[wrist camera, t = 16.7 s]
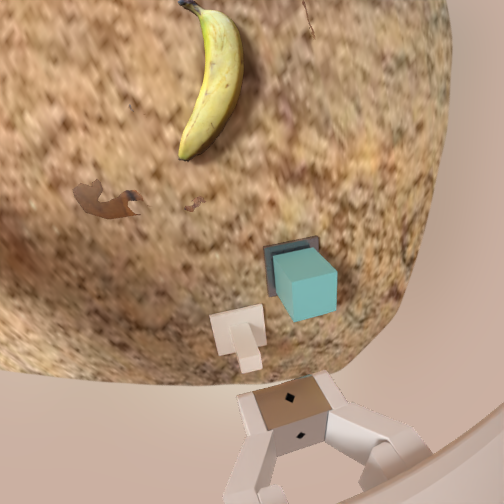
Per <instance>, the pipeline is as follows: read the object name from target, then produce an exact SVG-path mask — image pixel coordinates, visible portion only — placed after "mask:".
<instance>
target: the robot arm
mask: <svg viewBox="0 0 504 504" xmlns="http://www.w3.org/2000/svg"><path fill="white" fill-rule="evenodd" d="M236 397H237V401H238V406H239V410H240V415H241V418H242V422H243V426H244V429H245V432H246V435H247V437H245V439H244V442H243V445H242V447H241V450H240V452H239V455H238V458H237V460H236V463H235V466H234V468H233V471H232V473H231V476H230V478H229V481H228V483H227V486H226V488H225V491H224V493H223V496H222V497H223V501H224V504H289V503H288V501H287V499H286V496H285V494H284V491H283V489H282V487H281V486H278V485H271V486H270V482H271V478H272V474H273V471H274V467H275V463H276V459H277V458H276V457H278V456H281V455H284V454H287V453H290V452H293V451H296V450H299V449H302V448H305V447H308V446H311V445H314V444H317V443H320V442H323V441H325V442H326V443H327V444H329V445H331V446H332V447H334V448H335V449H337V450H339V451H340V452H342V453H344V454H345V455H347V456H349V457H350V458H352V459H354V460H355V461H357V462H359V463H361V464H362V465H365V468H364V470H363V473H362V475H361V477H360V480H359V484H360V486H361V488H362V490H363V491H364V492H362V493H360V494H358V495H356V496H353V497H351V498H349V499H347V500H344V501H342V502H339V503H337V504H504V402H503V403H502V404H501V405H500V406H499V407H497V408H496V409H495V410H494V411H492V412H491V413H490V414H489V415H488V416H486V417H485V418H484V419H483V420H481V421H480V422H479V423H477V424H476V425H475V426H473V427H472V428H471V429H470V430H468V431H467V432H465V433H464V434H463V435H461V436H460V437H458V438H457V439H455V440H454V441H453V442H451V443H450V444H448V445H447V446H445V447H444V448H442V449H441V450H439V451H438V452H436V453H434V454H433V453H432V452H431V450H430V449H429V448H428V446H427V445H426V444H425V442H424V441H423V440H422V439H421V437H420V436H419V434H418V433H417V432H416V430H415V429H414V428H413V427H412V426H410V425H407V424H404V423H402V422H400V421H397V420H395V419H392V418H390V417H387V416H385V415H382V414H380V413H377V412H375V411H373V410H370V409H368V408H366V407H363V406H361V405H359V404H356V403H354V402H351V403H348V401H347V400H346V398H345V397H344V395H343V394H342V392H341V391H340V389H339V388H338V386H337V385H336V383H335V382H334V381H333V379H332V377H331V376H330V374H329V373H328V371H326V370H322V371H319V372H316V373H313V374H309V375H306V376H303V377H300V378H297V379H294V380H291V381H287V382H284V383H282V384H279V385H276V386H272V387H268V388H264V389H260V390H256V391H252V392H248V393H244V394H240V395H237V396H236Z"/></svg>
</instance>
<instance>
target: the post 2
mask: <svg viewBox="0 0 504 504" xmlns="http://www.w3.org/2000/svg"><path fill="white" fill-rule="evenodd" d="M312 247H313V248H314V249H315V250H316V251H317V252H318V253H319V245H318V236H312V237H307V238H302V239H298V240H293V241H288V242H283V243H278V244H273V245H268V246H263V250H264V260H265V269H266V279H267V289H268V296H269V297H272V296H276V295H277V293H276V285H275V273H274V262H273V256H275V255H279V254H284V253H289V252H293V251H298V250H303V249H308V248H312Z"/></svg>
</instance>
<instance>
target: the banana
mask: <svg viewBox="0 0 504 504" xmlns="http://www.w3.org/2000/svg"><path fill="white" fill-rule="evenodd" d="M178 4H179V5H180V6H183V7H184V8H185V9H187V10H189V11H190V12H192V13H194V14H195V15H196V16H198V18H199V20H200V24H201V28H202V33H203V39H204V46H205V62H206V63H205V73H204V80H203V84H202V87H201V90H200V94H199V97H198V98H197V101H196V104H195V107H194V110H193V113H192V115H191V117H190V120H189V122H188V124H187V126H186V127H185V129H184V131H183V135H182V138H181V142H180V147H179V154H178V157H179V160H183V161H189V160H190V159H192V158H193V157H194V156H196V155H199V154H201V153H203V152H204V151H205V150H206V149H208V148H209V147H210V145H211V144H212V143H213V142H214V141H215V140H216V138H217V137H218V136H219V135H220V133H221V132H222V131H223V129H224V127H225V125H226V123H227V121H228V120H229V118H230V117H231V115H232V113H233V111H234V109H235V107H236V105H237V102H238V98H239V95H240V92H241V87H242V81H243V75H244V60H243V59H244V57H243V46H242V41H241V37H240V34H239V30H238V29H237V27H236V25H235V24H234V22H233V21H232V20H231V19H230V18H229V17H228V16H226V15H225V14H223V13H222V12H219V11H215V10H205V9H203V8H201V7H200V6H198V5H197V4H196V2H195V1H193V0H179V1H178ZM302 4H303V5H304V7H305V9H306V6H305V2H304V0H303V1H302ZM306 15H307V19H308V22H309V18H308V14H307V10H306ZM309 25H310V23H309ZM310 27H311V25H310ZM310 27H309V29H310ZM311 29H312V27H311ZM311 34H312V35H313V38H314V39H315V35H314V31H313V29H312V32H311ZM314 39H313V40H314ZM129 108H130V109H131V106H130V105H129ZM131 110H132V109H131ZM132 111H133V110H132ZM133 112H134V111H133ZM144 115H145V114H144ZM146 118H147V117H146ZM92 185H93V186H88V185H85V184H83V183H80V184H79V185H78V186H77V187H75V188H74V189H73V193H74V197H75V198H76V200H77V201H78V202H79V204H80V205H81V207H82V208H83V209H84V211H85V212H86V213H89V214H92V215H96V216H99V217H102V218H106V219H114V218H120V217H127V216H133V215H140V214H135V213H133V212H132V211H131V210H130V208H129V207H128V201H137V200H141V201H143V198H142V196H141V195H140V194H139V193H138V192H137V191H136V190H130V191H129V190H126V191H124V192H123V193H122V194H121V195H120V196H119V197H118V198H115V199H112V200H110V201H108V202H101V203H100V202H99V201H98V198H99V196H100V195H101V193H102V191H103V188H102V185H101V182H100V181H99V180H98V179H96V180H95V181H94V182H93V183H92ZM192 201H194V205H192V206H185V209H184V210H187V211H190V212H193V211H194V208H196V207H199V206H200V204H201V202H203V203H205V202H206V201H205V200H204V198H203V197H201V196H199V197H197V198H195V199H194V200H192ZM147 206H148V205H147Z"/></svg>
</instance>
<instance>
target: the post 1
mask: <svg viewBox="0 0 504 504" xmlns="http://www.w3.org/2000/svg"><path fill="white" fill-rule="evenodd" d="M209 317H210V321H211V325H212V330H213V334H214V338H215V342H216V346H217V350H218V355H219V356H222V355H226V354H231V353H236V357H237V360H238V363H239V366H240V369H241V373H242V374H244V373H248V372H252V371H256V370H260V369H263V368H262V361H261V354H260V351H259V349H258V347H260V346H264V345H267V341H266V332H265V323H264V314H263V305H262V303H260V304H256V305H252V306H247V307H243V308H238V309H234V310H229V311H225V312H220V313H216V314H211V315H209Z"/></svg>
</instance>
